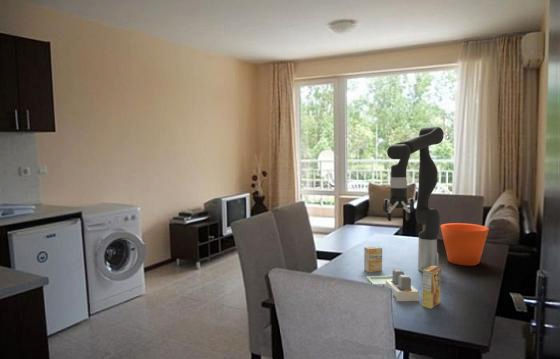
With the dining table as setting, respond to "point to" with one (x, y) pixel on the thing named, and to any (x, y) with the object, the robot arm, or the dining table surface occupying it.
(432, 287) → the candy box
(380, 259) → the supplement box
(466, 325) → the dining table surface
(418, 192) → the robot arm
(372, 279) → the tray
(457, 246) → the flowerpot
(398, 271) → the plug
